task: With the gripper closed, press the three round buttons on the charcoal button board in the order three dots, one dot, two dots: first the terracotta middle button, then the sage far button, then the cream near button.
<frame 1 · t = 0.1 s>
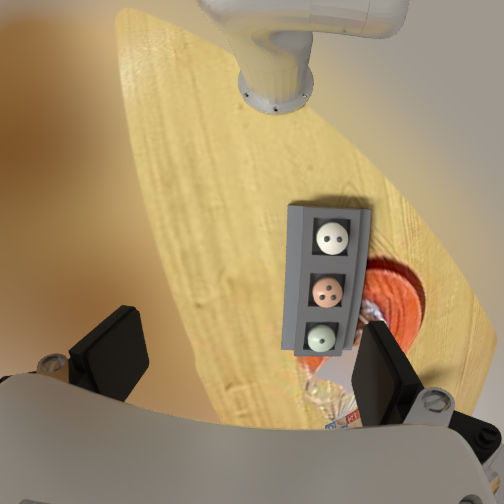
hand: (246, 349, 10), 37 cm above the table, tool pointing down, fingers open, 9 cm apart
button three: (327, 292, 43), point 4 cm above the table, slide at 0.0 cm
button board: (324, 283, 47), on the table
button one: (321, 338, 46), point 4 cm above the table, slide at 0.0 cm
stack of blocks: (366, 411, 55), on the table
button two: (332, 238, 41), point 4 cm above the table, slide at 0.0 cm
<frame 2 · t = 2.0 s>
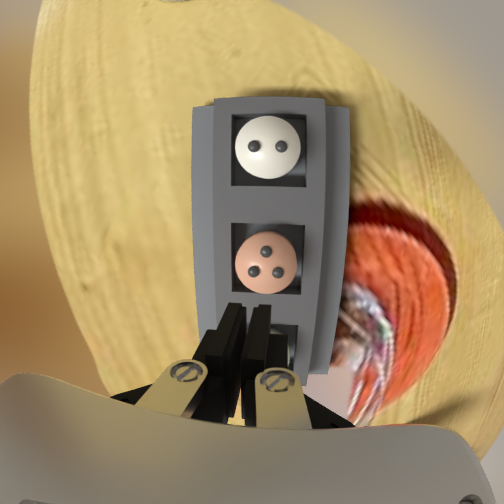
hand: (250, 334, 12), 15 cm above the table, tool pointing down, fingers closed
button three: (266, 261, 22), point 4 cm above the table, slide at 0.0 cm
button board: (269, 249, 26), on the table
button one: (263, 353, 24), point 4 cm above the table, slide at 0.0 cm
button two: (268, 148, 20), point 4 cm above the table, slide at 0.0 cm
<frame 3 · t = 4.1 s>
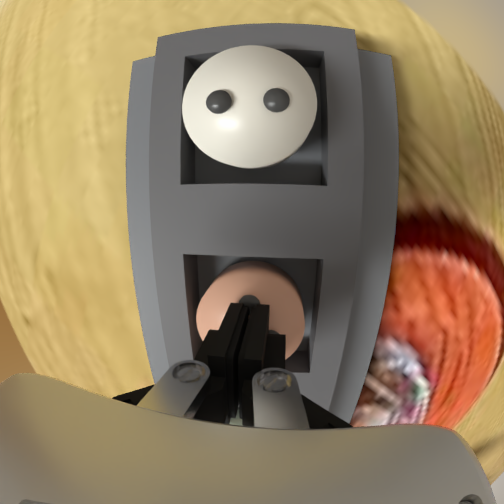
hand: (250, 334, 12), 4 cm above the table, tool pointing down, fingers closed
button three: (251, 316, 13), point 3 cm above the table, slide at 0.9 cm, touching gripper
button board: (258, 290, 16), on the table
button one: (249, 442, 14), point 4 cm above the table, slide at 0.0 cm
button two: (250, 107, 9), point 4 cm above the table, slide at 0.0 cm
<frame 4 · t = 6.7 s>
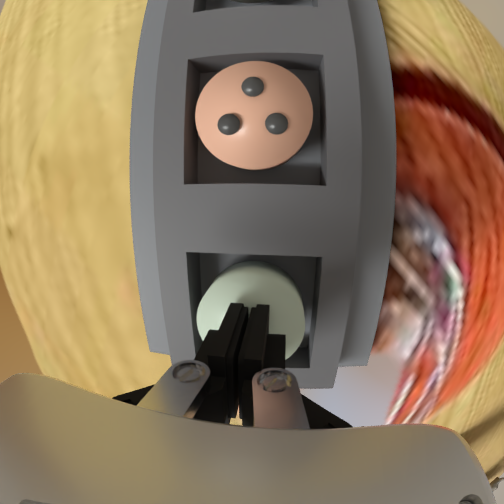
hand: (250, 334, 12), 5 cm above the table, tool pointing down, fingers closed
button three: (255, 116, 11), point 3 cm above the table, slide at 1.2 cm
button board: (260, 128, 14), on the table
button one: (252, 316, 13), point 4 cm above the table, slide at 0.6 cm, touching gripper
rhinoceros figurine: (472, 483, 23), on the table
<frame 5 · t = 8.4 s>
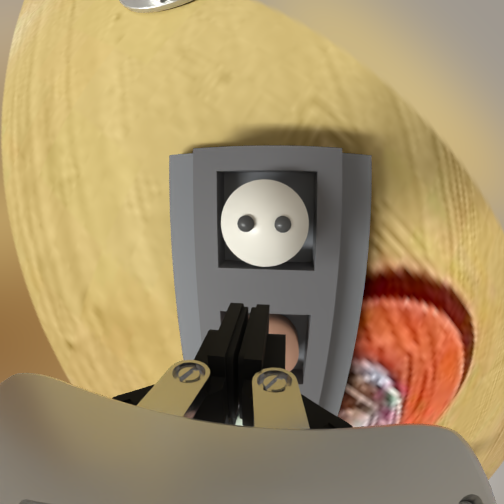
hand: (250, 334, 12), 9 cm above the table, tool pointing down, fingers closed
button three: (264, 347, 19), point 3 cm above the table, slide at 1.2 cm
button board: (267, 328, 22), on the table
button one: (262, 426, 21), point 3 cm above the table, slide at 1.1 cm
button two: (265, 221, 16), point 4 cm above the table, slide at 0.0 cm
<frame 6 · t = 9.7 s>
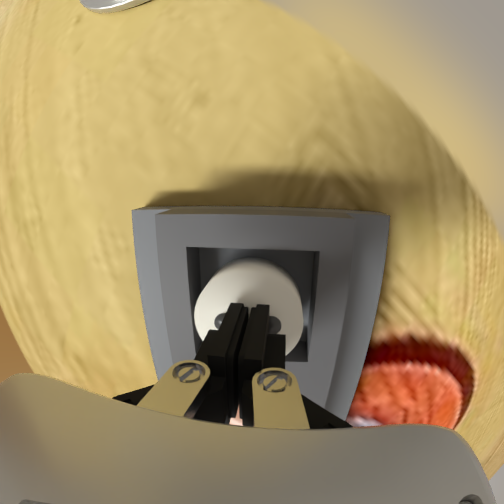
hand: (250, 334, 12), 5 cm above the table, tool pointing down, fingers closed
button three: (251, 420, 16), point 3 cm above the table, slide at 1.2 cm
button board: (255, 392, 19), on the table
button two: (250, 313, 12), point 4 cm above the table, slide at 0.2 cm, touching gripper
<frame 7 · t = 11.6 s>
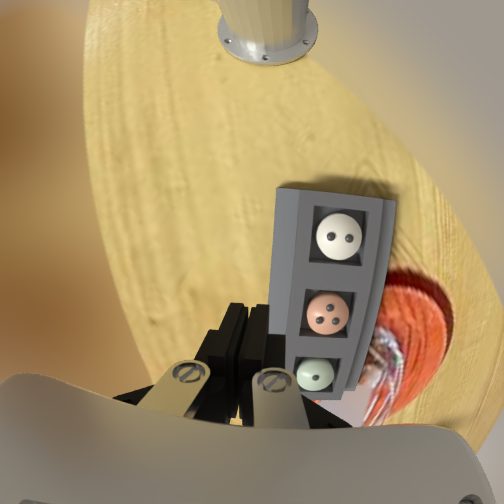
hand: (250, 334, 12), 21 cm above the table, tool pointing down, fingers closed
button three: (327, 312, 30), point 3 cm above the table, slide at 1.2 cm
button board: (324, 302, 33), on the table
button one: (315, 373, 32), point 3 cm above the table, slide at 1.1 cm
button two: (338, 235, 28), point 3 cm above the table, slide at 1.2 cm
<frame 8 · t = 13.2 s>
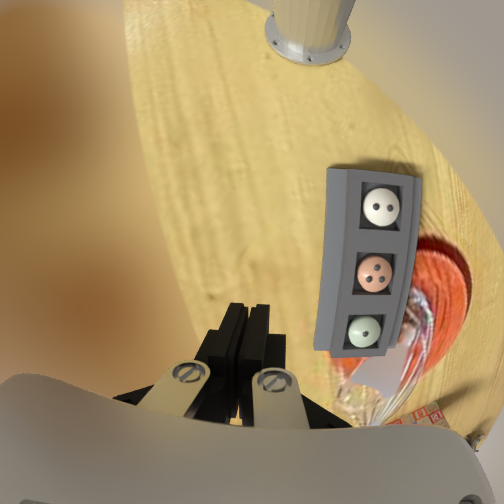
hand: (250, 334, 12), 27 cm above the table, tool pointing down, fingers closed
button three: (373, 273, 35), point 3 cm above the table, slide at 1.2 cm
button board: (368, 266, 37), on the table
button one: (363, 330, 37), point 3 cm above the table, slide at 1.1 cm
stack of blocks: (395, 426, 46), on the table
rhinoceros figurine: (461, 441, 47), on the table
button two: (380, 206, 32), point 3 cm above the table, slide at 1.2 cm
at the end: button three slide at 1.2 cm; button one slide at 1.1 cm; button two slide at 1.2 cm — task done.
